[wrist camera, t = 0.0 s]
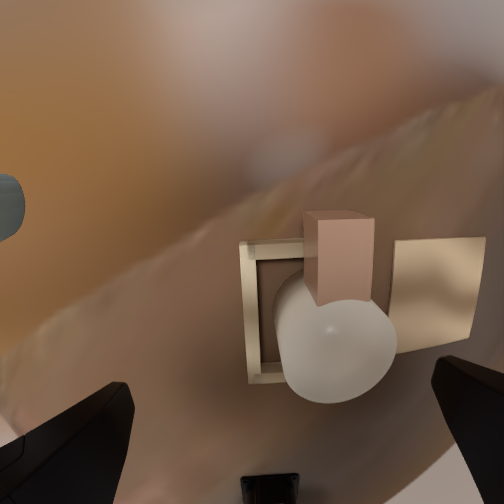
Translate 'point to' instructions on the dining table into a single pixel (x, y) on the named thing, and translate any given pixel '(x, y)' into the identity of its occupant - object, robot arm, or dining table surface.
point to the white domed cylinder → (333, 312)
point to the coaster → (434, 290)
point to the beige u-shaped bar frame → (248, 257)
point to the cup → (10, 206)
